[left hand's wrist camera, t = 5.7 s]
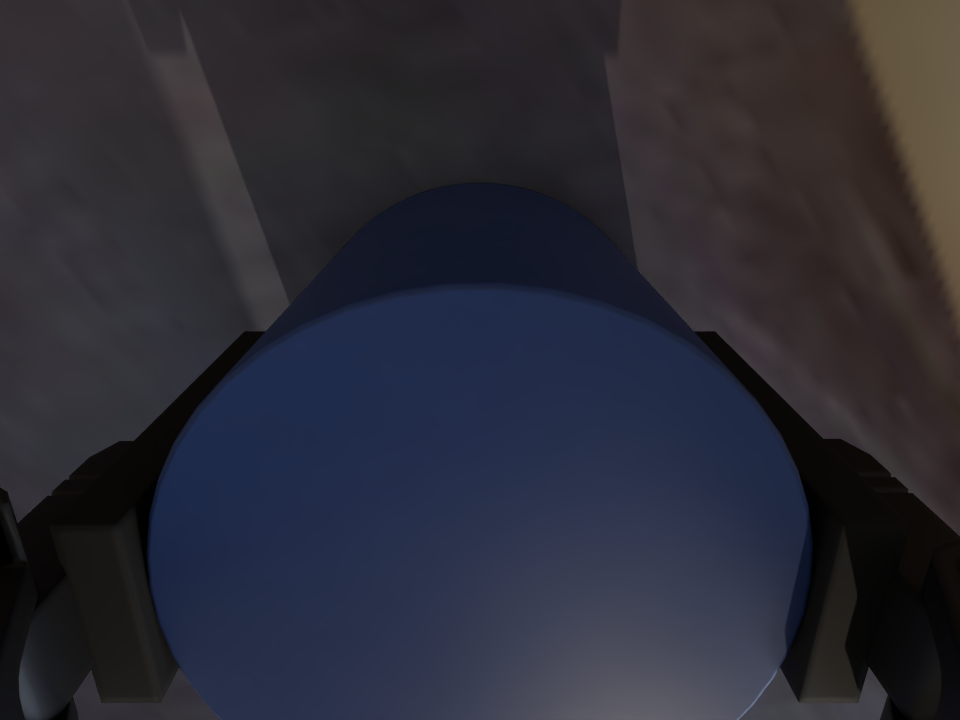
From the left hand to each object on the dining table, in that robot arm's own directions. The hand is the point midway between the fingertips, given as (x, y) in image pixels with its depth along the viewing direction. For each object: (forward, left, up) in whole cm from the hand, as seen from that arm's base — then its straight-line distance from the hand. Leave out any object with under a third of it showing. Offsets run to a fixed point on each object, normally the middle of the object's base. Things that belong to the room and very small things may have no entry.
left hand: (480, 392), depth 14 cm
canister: (0, 0, -2) cm, 2 cm away
